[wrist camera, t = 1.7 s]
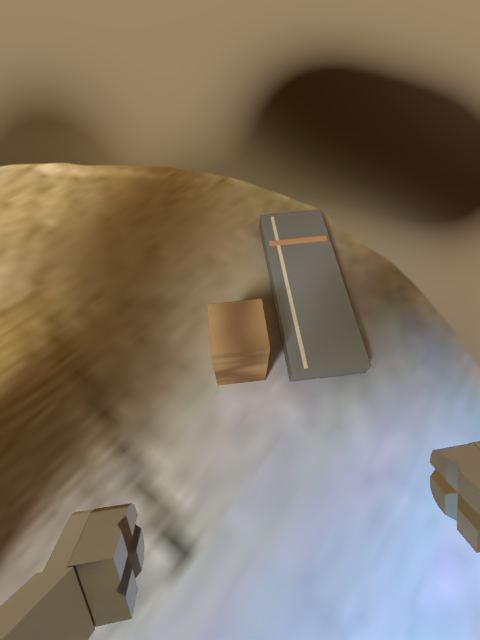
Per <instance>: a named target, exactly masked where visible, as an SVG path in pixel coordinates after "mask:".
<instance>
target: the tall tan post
mask: <svg viewBox="0 0 480 640" xmlns="http://www.w3.org/2000/svg"><path fill="white" fill-rule="evenodd" d="M207 310H208V323H209V335H210V347H211V357H212V361H213V366H214V370H215V375H216V380H217V384H218V385H226V384H235V383H243V382H252V381H260V380H265V379H266V373H267V366H268V360H269V354H270V344H269V338H268V332H267V326H266V321H265V315H264V309H263V304H262V299H253V300H244V301H234V302H225V303H215V304H207Z"/></svg>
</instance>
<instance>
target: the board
mask: <svg viewBox="0 0 480 640" xmlns="http://www.w3.org/2000/svg"><path fill="white" fill-rule="evenodd" d="M260 232H261V237H262V242H263V247H264V252H265V257H266V262H267V267H268V273H269V278H270V283H271V288H272V293H273V298H274V303H275V308H276V313H277V318H278V324H279V329H280V334H281V339H282V344H283V349H284V354H285V359H286V364H287V370H288V375H289V380H290V381H299V380H307V379H316V378H324V377H333V376H341V375H350V374H358V373H365V372H366V371H367V370H368V369H369V367H370V366H371V364H370V361H369V358H368V355H367V352H366V349H365V346H364V343H363V340H362V337H361V333H360V330H359V327H358V324H357V321H356V318H355V315H354V312H353V309H352V306H351V303H350V300H349V296H348V293H347V290H346V287H345V284H344V281H343V278H342V275H341V272H340V269H339V266H338V263H337V260H336V256H335V253H334V250H333V247H332V244H331V241H330V238H329V235H328V232H327V229H326V226H325V223H324V219H323V216H322V213H321V210H313V211H302V212H291V213H281V214H270V215H260Z"/></svg>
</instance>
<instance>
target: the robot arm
mask: <svg viewBox="0 0 480 640" xmlns="http://www.w3.org/2000/svg"><path fill="white" fill-rule="evenodd" d="M430 463H431V464H432V465H433V466H434V468H435V470H434V472H433V473H432V475H431V476H430V488H431V491H432V494H433V497H434V499H435V501H436V503H437V505H438V506H439V508H440V509H441V510H442V511H443V513H444V514H445V515H447V516H449V517H451V518H453V519H455V520H457V530H458V531H459V532H460V533H461V535H462V536H463V537H464V538H465V539H466V541H467V542H468V543H469V544H470V545H471V547H472V548H473V549H474V550H475V551H476V553H478V552H480V441H478V442H473V443H468V444H464V445H459V446H453V447H448V448H442V449H437V450H433V451H432V453H431V458H430ZM136 519H137V511H136V508H135V505H134V504H132V503H130V504H123V505H116V506H110V507H103V508H97V509H94V510H86V511H79V512H75V513H73V514H72V515H71V516H70V518H69V520H68V522H67V524H66V526H65V528H64V530H63V532H62V534H61V536H60V538H59V540H58V542H57V544H56V546H55V548H54V550H53V552H52V554H51V556H50V558H49V560H48V562H47V564H46V566H45V569H44V571H43V572H41V573H36V574H35V575H34V576H33V577H32V578H31V579H30V580H29V581H27V582H26V583H25V584H24V585H23V586H22V587H21V588H20V589H19V590H18V591H17V592H16V593H14V594H13V595H12V596H11V597H10V598H9V599H8V600H7V601H6V602H5V603H4V604H2V605H1V606H0V640H88V639H89V637H90V636H91V634H92V633H93V632H94V630H95V628H94V627H97V626H101V625H105V624H110V623H114V622H119V621H123V620H128V619H132V616H133V611H134V606H135V601H136V596H137V591H138V587H137V583H136V580H135V578H136V577H137V576H138V575H139V573H140V572H141V571H142V566H143V561H144V539H143V533H142V529H141V528H140V527H138V526H137V525H136Z"/></svg>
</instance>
